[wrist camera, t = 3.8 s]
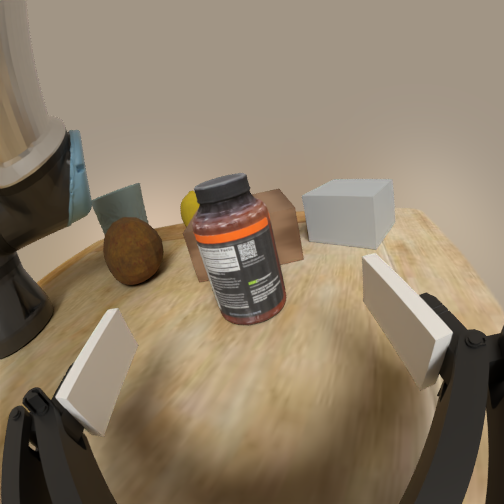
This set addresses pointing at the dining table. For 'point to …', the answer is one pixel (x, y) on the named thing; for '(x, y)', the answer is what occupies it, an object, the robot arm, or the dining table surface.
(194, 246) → the walnut block
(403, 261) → the dining table surface
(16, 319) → the robot arm
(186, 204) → the lemon
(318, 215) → the grey block
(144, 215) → the grey green planter pot
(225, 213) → the supplement bottle
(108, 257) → the potato
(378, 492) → the dining table surface
